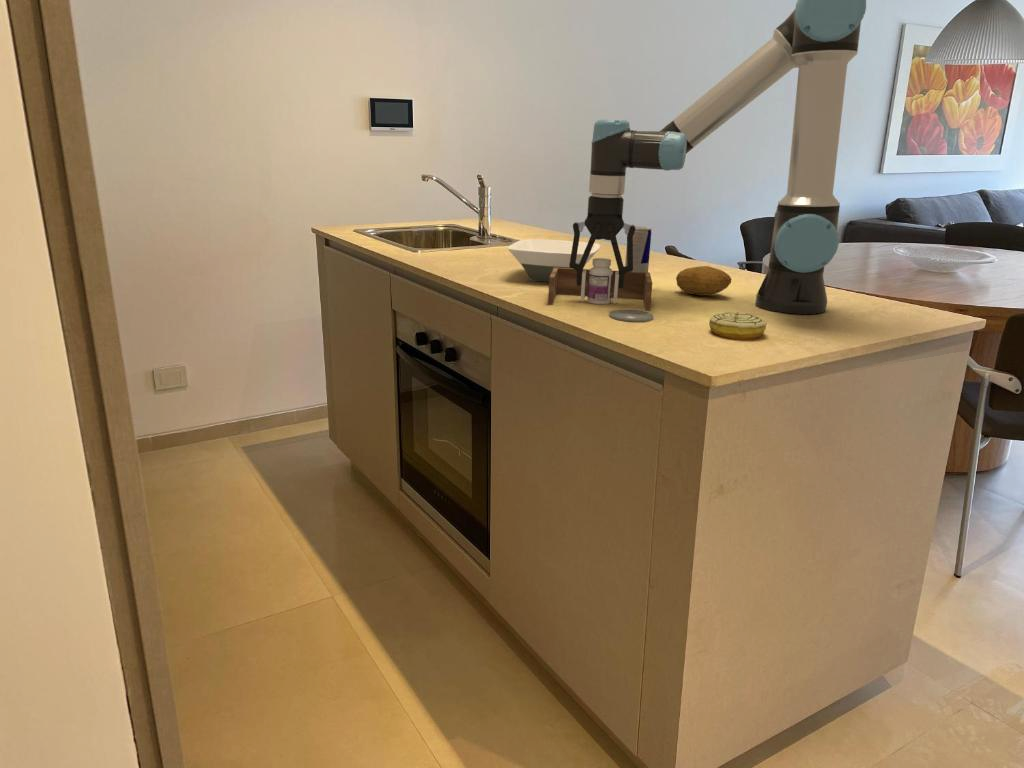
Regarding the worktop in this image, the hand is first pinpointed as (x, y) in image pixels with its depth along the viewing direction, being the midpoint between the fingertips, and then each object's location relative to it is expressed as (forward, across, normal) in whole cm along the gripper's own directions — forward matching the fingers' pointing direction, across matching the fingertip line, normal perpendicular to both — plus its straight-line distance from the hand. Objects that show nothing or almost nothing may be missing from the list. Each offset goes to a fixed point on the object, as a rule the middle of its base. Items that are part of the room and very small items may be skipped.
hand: (598, 301), depth 172 cm
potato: (0, -24, -15) cm, 29 cm away
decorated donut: (+1, -27, +22) cm, 35 cm away
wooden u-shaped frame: (0, 0, 0) cm, 1 cm away
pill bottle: (0, 0, 0) cm, 0 cm away
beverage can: (0, -8, -18) cm, 20 cm away
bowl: (+1, +12, -26) cm, 29 cm away
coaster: (0, -7, +13) cm, 15 cm away
